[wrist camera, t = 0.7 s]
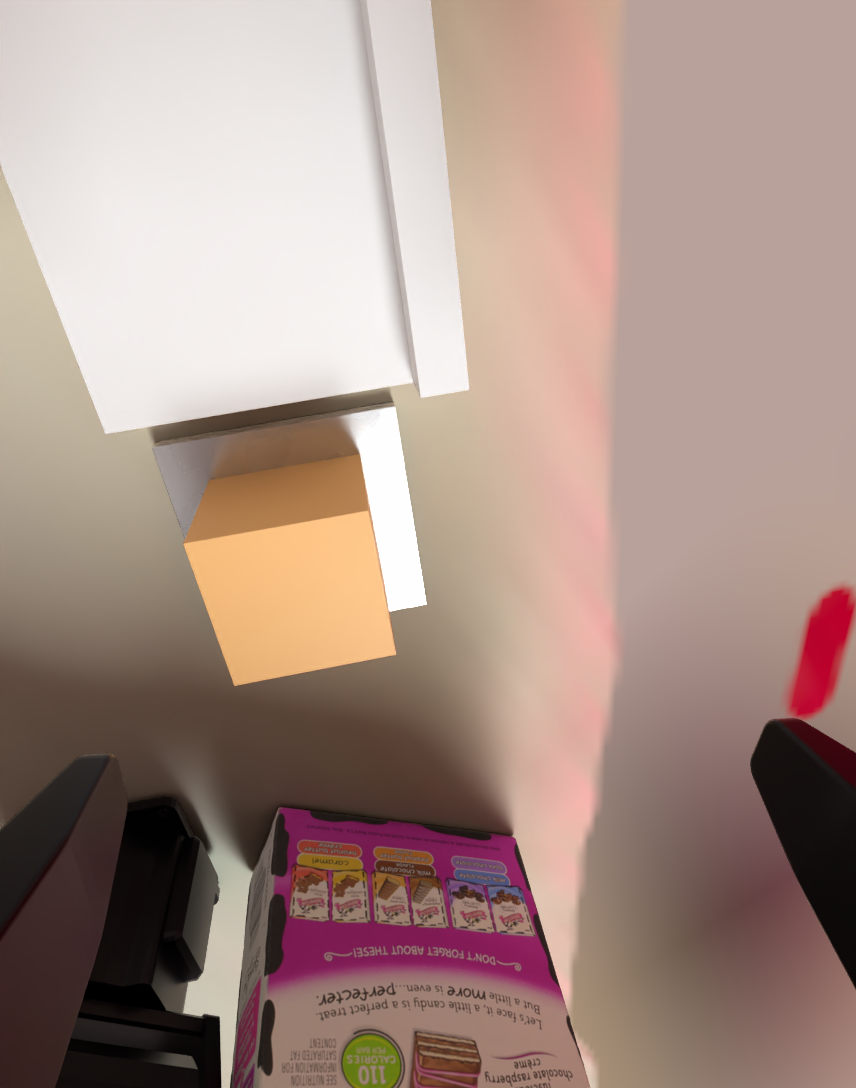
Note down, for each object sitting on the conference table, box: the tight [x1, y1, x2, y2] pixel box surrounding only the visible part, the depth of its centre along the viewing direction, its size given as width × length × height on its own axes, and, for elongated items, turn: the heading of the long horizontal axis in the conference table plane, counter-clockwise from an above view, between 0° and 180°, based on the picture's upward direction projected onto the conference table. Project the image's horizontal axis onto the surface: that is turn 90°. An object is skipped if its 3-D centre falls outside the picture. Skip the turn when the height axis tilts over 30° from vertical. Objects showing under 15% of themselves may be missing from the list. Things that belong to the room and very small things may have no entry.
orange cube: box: [183, 454, 396, 686], centre depth 18 cm, size 4×4×4 cm
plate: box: [152, 402, 426, 611], centre depth 20 cm, size 7×7×1 cm
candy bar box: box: [230, 807, 590, 1088], centre depth 22 cm, size 11×5×16 cm, turn 69°
